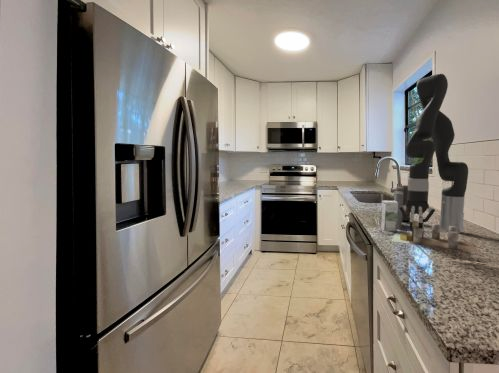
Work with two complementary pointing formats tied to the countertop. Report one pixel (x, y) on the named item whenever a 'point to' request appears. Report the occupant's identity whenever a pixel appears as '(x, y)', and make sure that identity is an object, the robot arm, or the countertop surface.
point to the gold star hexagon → (405, 236)
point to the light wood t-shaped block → (415, 225)
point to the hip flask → (399, 205)
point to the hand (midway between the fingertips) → (415, 230)
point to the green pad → (397, 239)
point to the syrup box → (389, 215)
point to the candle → (405, 200)
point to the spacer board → (442, 243)
